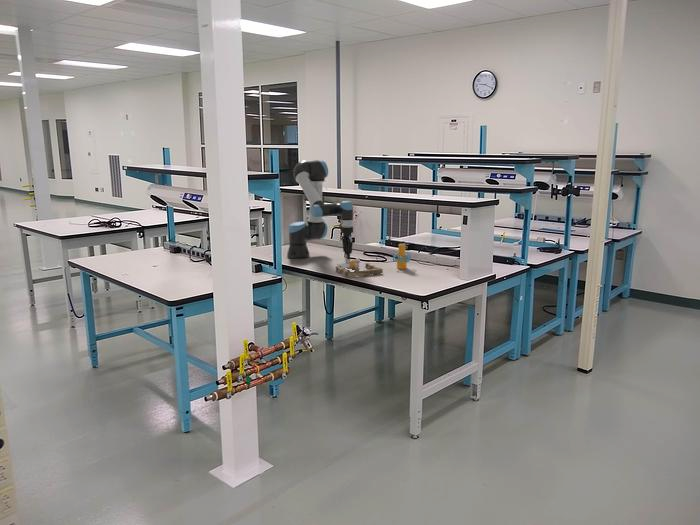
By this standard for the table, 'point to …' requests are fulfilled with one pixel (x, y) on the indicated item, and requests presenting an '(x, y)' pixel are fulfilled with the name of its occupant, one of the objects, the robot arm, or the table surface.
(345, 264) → the lane tape
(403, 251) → the orange toy figure
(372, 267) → the pin pen
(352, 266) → the ball
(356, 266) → the pin
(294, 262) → the table surface
